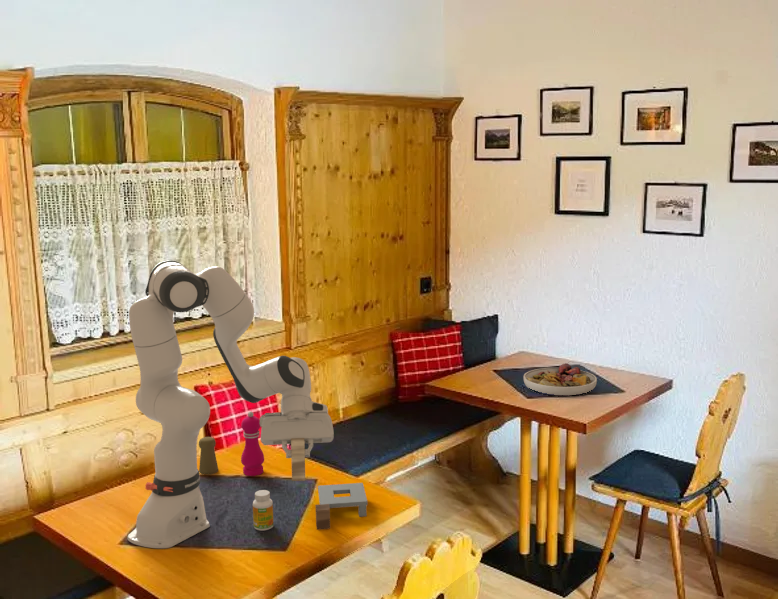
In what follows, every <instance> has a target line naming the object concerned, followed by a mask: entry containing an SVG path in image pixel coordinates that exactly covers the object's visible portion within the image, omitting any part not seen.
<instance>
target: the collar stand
mask: <svg viewBox="0 0 778 599" xmlns="http://www.w3.org/2000/svg"><path fill="white" fill-rule="evenodd" d="M365 490H366V489H365V487H364V484H363V482H356V483H342V484H341V483H339V484H326V485H325V484H324V485H322V484H321V485H318V486H317V491H318V502H319V505H321V504H329V508H330V509H333V508H337V509H338V508H349V507H350V508H351V507H358V516H359V517H367V506H368V499H367V498H368V497H367V495H366V491H365ZM343 494H344V495H345V494H346V495H347V494H349V496H335V495H343Z"/></svg>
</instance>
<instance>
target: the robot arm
mask: <svg viewBox="0 0 778 599" xmlns="http://www.w3.org/2000/svg"><path fill="white" fill-rule="evenodd" d="M144 291H145V292H144V293H145V295H146V296H145V297H143V298H142V297H141V298H140V299H137V300H136V301H134V302H133V303H132V304H131V305H130V307H129V310H128V316H129V317H128V320H129V330H130V335H131V339H132V343H133V346H134V351H135V355H136V360H137V364H138V368H139V372H140V386H139V388H138V389H137V391H136V395H135V404H136V405H135V406H136V407H137V409H138V410H139V411H140V412H141V414H143V415H144V416H145V417H147V418H148V419H149V420H150V421H151V420H152V421H154V422H156V423H158V424H160V425H161V428H162V432H161V439H160V441H159V442H157V443H156V444H155V446H154V449H153V455H154V469H155V474H154V476H153V480H152V482H146V484H145V486H144V488H145V490H147V491H151V493H150V495H149V496H148V498H147V500H146V501H145V503H144V504H143V506H142V508H141V509H140V511H139V512H138V514H137V516H136V524H135V525H136V527H135V528H134V529H133V530H132V531H131V532H130V533H129V534H128V535H127V539H126V540H128V542H130V543H131V544H132V545H136V546H139V547H140V546H141V547H145V548H152V549H169V548H172V547H174V546H175V545H178V544H179V543H181V542H183V541H186V540H187V539H189V538H190V537H193V536H195V535H196V534H198V533H200V532H202V531H204V530H207V529H208V528H210V526H211V525H210V522H209V520H208V519H207V514H206V507H205V502H204V497H203V494H202V492H201V489H200V483H201V480H200V479H201V475H200V473H199V469H198V459H197V458H198V456H197V454H198V453H197V444H198V439H199V438H198V437H199V434H200V431H201V429H202V428H204V427H205V425H206V424H207V423H208V421H209V418H210V415H211V407H210V406H211V405H210V403H209V402H208V400H207V399H206V398H205V397H204V396H203V395H202V394H200V393H199V392H197V391H196V390H193V389H190V388H188V387H184V386H182V385H181V384H180V381H179V378H178V376H179V374H178V372H179V371H178V370H179V368H180V367H181V366H182V364H183V356H182V351H181V348H180V344H179V339H178V336H177V332H176V328H175V325H174V315H175V314H174V313H175V312H176V313H186V312H189V311H192V310H193V309H195V308H199V307H203V308H204V309H205V310H206V312H207V314H208V315H209V316H210V317H211V319H212V321H213V323H214V329H213V332H212V335H213V340H214V342H215V345H216V347H217V350H218V352H219V354H220V356H221V357H222V358H221V359H223V362H224V363H225V365H226V368H227V369H228V371H229V373H230V375H231V377H232V380H233V382H234V384H235V388H236V391H237V393H238V395H239V397H241V398H242V399H243V400H244V401H247V402H248V403H251V404H257V403H258V402H261V401H263V400H265V399H267V398H269V397H272V396H274V395H278V394H280V395H281V400H280V412H265V413H264V414H262V415H261V416H260V417H259V420H260V426H261V427H260V442H261V444H262V445H263V446H277V445H281V449H282V450H283V451H284V453H285V458H286V459H291V458H292V456H291V449H289V448H288V445H291V439H292V438H304V442H305V444H308V445H307V446H308V448H305V458H311V451H312V450H313V448H314V444H318V443H319V444H320V443H323V444H324V443H331V442H332V441H333V440H334V438H335V437H334V436H335V434H334V427H333V426H334V425H333V422H332V418H331V416H330V415H329V412H328V411H329V409H328V406H327V404H324V403H319V402H315V401H312V400H313V399H312V397H311V391H312V381H311V373H310V369H309V365H308V363H307V362H306V360H304V359H303V358H300V357H295V356H293V357H290V356H287V355H281V356H280V355H279V356H276V357H274V358H270V359H269V360H266V361H264V362H262V363H258V364H256V365H249V364H248V363H247V361H246V359H245V358H244V356H243V353H242V351H241V349H240V347H239V345H238V342H237V341H238V340H239V339H240V338H241V337H242V336H243V335H244V334H245V333H246V332H247V331H248V329H249V328H250V326H251V325H252V322H253V320H254V318H255V308H254V305H253V303H252V301H251V299H250V297H249V296H248V295H247V293H246V292H245V291H244V289H243V288H242V286H240V284H239V283H238V282H237V281H236V280H235V278H234V277H233V276H232V275H231V274H230V273H229V272H227V270H225V268H223V267H221V266H209V267H208V268H204V270H202V271H201V272H197V273H196V272H194V271H192V270H191V269H189V268H188V267H187V266H185V265H184V264H182V263H180V262H179V261H176V260H164V261H161V262H159V263H157V264H156V265H155V266H154V267H152V269H151V271H150V273H149V278H148V282H147V283H146V288H145V290H144Z"/></svg>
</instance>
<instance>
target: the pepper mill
mask: <svg viewBox="0 0 778 599" xmlns="http://www.w3.org/2000/svg"><path fill="white" fill-rule="evenodd" d="M240 425H241V429H242V430H243V432H242V433H243V437H244V439H245V440H244V441H245V442H244V444H245V445H244V449H243V451H242V454H241V458H240V461H241V464H242V465H243V468H242V473H243V475H244V474H245V475H244V476H247V477H257V476H260V475H262V474H263V473H264V466H263V464H264V461H265V455H264V452H263V450H262V449H261V446H260V443H259V437H260V436H261V433H260V430H261V428H262V427H261V426H260V417H259V418H258V417H257V416H255V415H254V412H253V411H249V412H247V416H245V417H244V418H243V419H242V421H241V424H240ZM256 475H257V476H256Z"/></svg>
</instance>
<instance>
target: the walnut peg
mask: <svg viewBox="0 0 778 599" xmlns="http://www.w3.org/2000/svg"><path fill="white" fill-rule="evenodd" d="M330 509H331V508H329V504H321V505H320V504H315V523H316V531H317V530H330V529H331V510H330Z"/></svg>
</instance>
